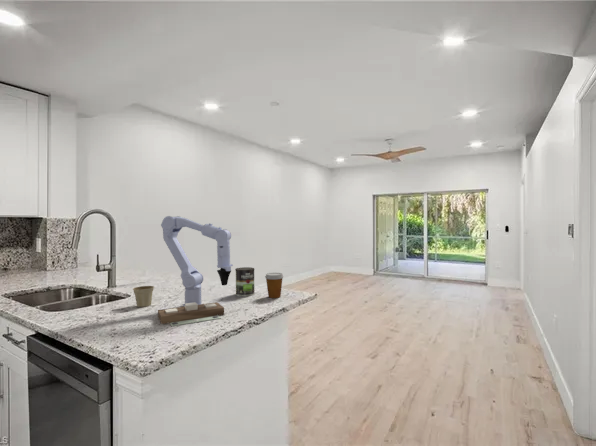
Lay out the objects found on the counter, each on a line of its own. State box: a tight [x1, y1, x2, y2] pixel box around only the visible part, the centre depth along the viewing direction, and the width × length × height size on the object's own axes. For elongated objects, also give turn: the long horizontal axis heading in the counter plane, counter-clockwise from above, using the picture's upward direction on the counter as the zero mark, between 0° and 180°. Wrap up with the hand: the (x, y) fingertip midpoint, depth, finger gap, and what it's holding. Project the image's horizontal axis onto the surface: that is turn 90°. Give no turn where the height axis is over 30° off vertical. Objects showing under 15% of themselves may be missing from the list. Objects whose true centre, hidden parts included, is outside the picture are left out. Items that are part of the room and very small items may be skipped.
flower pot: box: [132, 285, 155, 308], centre depth 158 cm, size 9×9×9 cm
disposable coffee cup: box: [264, 272, 284, 299], centre depth 173 cm, size 10×10×12 cm
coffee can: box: [234, 266, 255, 297], centre depth 180 cm, size 10×10×14 cm
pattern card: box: [169, 315, 221, 327], centre depth 133 cm, size 4×19×1 cm, turn 119°
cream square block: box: [165, 307, 178, 314], centre depth 136 cm, size 4×4×3 cm
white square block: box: [203, 302, 217, 308], centre depth 144 cm, size 4×4×3 cm
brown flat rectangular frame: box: [157, 302, 225, 325], centre depth 140 cm, size 11×25×3 cm, turn 119°
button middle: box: [184, 302, 198, 311], centre depth 140 cm, size 4×4×3 cm
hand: (224, 285), depth 153 cm, fingers closed
